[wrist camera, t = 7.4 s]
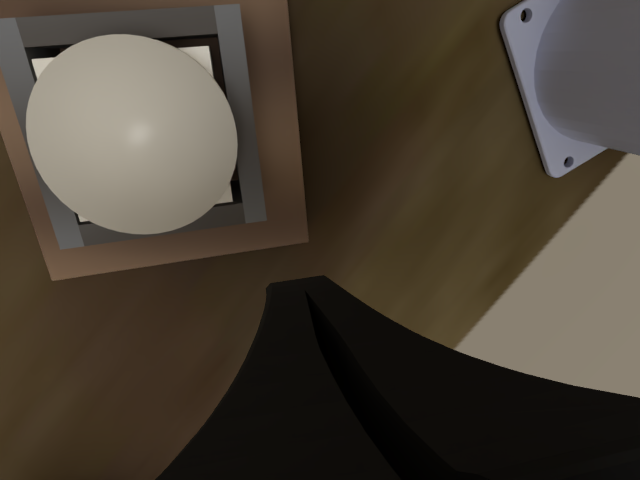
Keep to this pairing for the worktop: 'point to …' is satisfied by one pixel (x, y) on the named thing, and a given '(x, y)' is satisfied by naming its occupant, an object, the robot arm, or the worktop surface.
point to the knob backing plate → (239, 89)
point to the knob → (132, 132)
